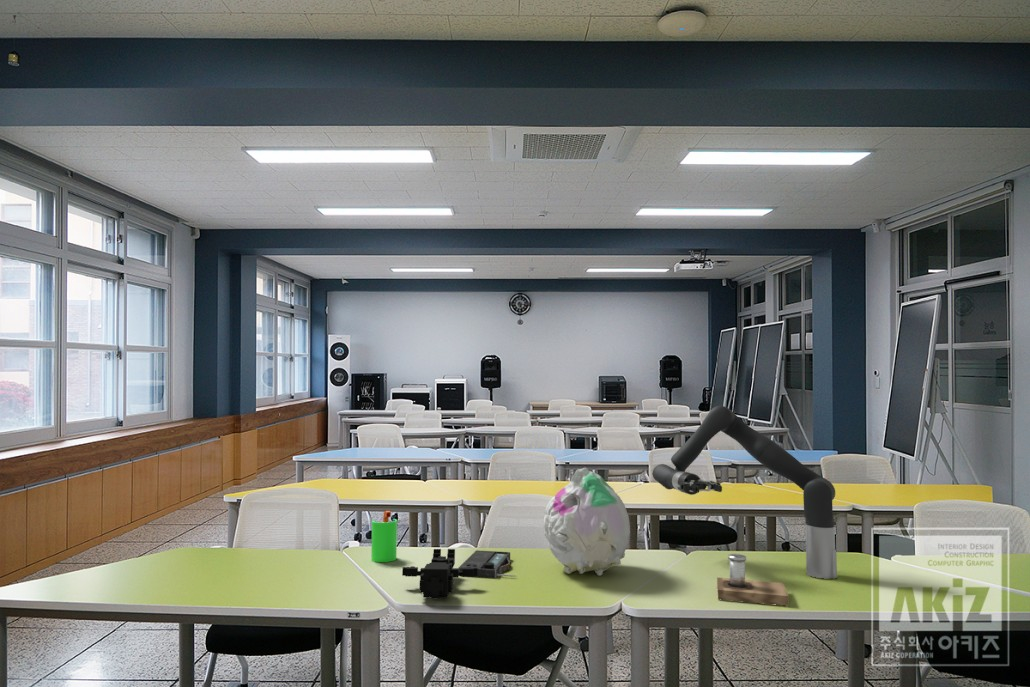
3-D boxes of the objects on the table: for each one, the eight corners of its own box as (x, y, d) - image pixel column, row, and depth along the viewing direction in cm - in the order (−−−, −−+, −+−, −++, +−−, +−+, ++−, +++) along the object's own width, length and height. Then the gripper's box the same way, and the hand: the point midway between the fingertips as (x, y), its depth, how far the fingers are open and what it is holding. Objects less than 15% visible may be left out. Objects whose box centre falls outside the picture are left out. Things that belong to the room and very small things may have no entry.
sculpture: (546, 595, 220) (632, 577, 211) (517, 486, 226) (600, 465, 217) (572, 570, 251) (648, 554, 242) (546, 475, 257) (619, 456, 248)
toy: (479, 549, 226) (475, 566, 196) (479, 578, 225) (475, 599, 195) (409, 548, 226) (394, 565, 196) (408, 577, 224) (393, 599, 195)
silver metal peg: (746, 593, 209) (745, 554, 210) (747, 598, 204) (746, 558, 205) (728, 591, 211) (727, 553, 212) (728, 596, 206) (728, 557, 207)
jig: (783, 592, 210) (782, 582, 211) (788, 606, 197) (788, 596, 197) (717, 586, 216) (717, 577, 216) (718, 599, 202) (718, 589, 203)
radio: (476, 547, 250) (528, 549, 247) (476, 558, 250) (528, 561, 246) (458, 564, 226) (515, 567, 222) (458, 577, 225) (515, 580, 222)
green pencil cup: (389, 555, 251) (390, 507, 252) (401, 559, 245) (402, 510, 247) (368, 559, 245) (369, 510, 246) (379, 563, 239) (380, 513, 240)
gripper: (668, 472, 242) (690, 478, 226) (703, 471, 245) (728, 477, 229) (668, 493, 241) (691, 500, 225) (703, 492, 245) (728, 499, 229)
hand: (709, 489), depth 227 cm, fingers open, 8 cm apart
